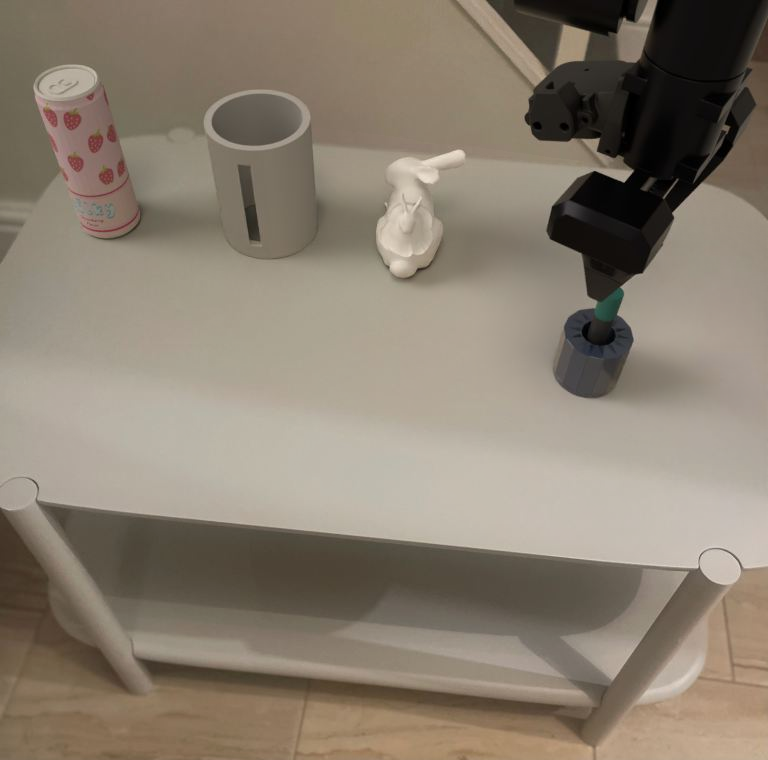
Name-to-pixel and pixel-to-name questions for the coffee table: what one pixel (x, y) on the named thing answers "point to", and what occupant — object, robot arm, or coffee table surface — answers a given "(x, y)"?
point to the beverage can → (87, 149)
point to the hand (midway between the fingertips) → (623, 260)
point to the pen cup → (591, 356)
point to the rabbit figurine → (412, 213)
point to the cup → (263, 170)
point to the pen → (604, 318)
